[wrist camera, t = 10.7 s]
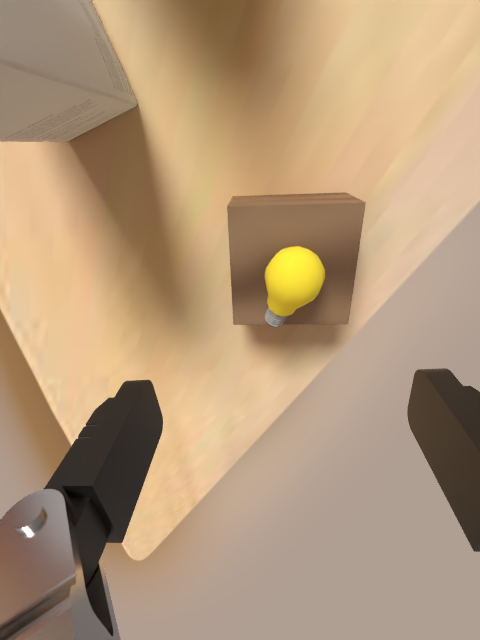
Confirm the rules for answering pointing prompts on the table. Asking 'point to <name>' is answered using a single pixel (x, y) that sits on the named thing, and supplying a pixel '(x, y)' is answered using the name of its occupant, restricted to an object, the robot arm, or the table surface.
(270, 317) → the light bulb
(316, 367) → the table surface
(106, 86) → the skincare box
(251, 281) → the walnut block
